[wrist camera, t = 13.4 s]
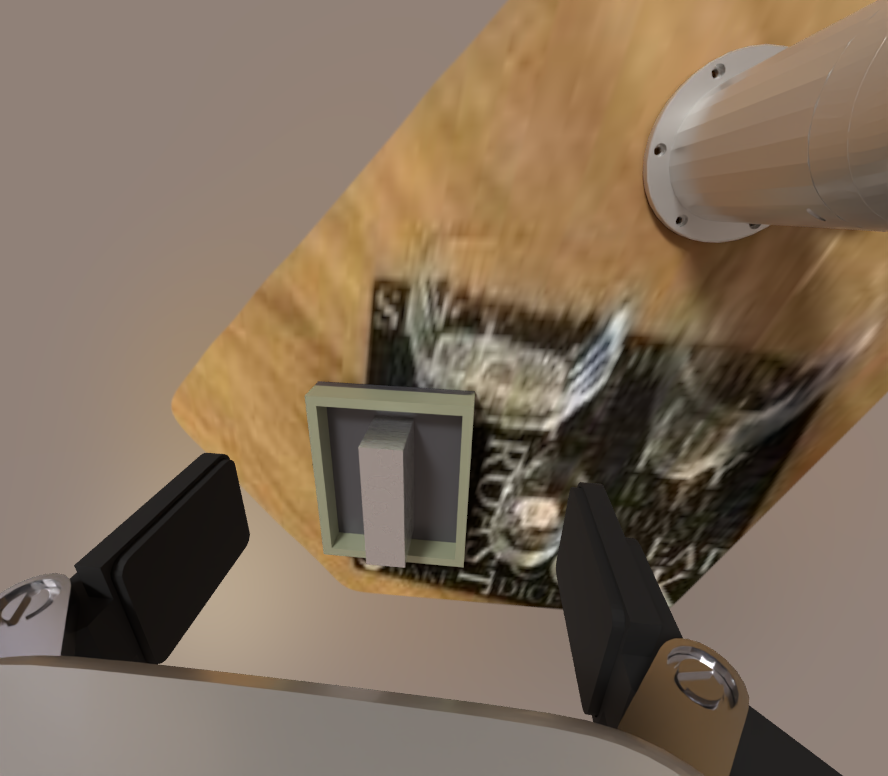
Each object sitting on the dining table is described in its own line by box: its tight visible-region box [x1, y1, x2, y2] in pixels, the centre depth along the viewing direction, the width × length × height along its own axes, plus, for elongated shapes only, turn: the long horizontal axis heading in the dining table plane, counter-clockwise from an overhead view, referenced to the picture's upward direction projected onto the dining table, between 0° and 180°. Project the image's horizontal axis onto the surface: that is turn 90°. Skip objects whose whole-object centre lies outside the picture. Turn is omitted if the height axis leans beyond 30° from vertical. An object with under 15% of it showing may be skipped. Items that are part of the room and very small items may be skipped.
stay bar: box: [358, 416, 414, 568], centre depth 42 cm, size 4×14×6 cm, turn 178°
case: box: [305, 381, 475, 567], centre depth 44 cm, size 16×20×4 cm
